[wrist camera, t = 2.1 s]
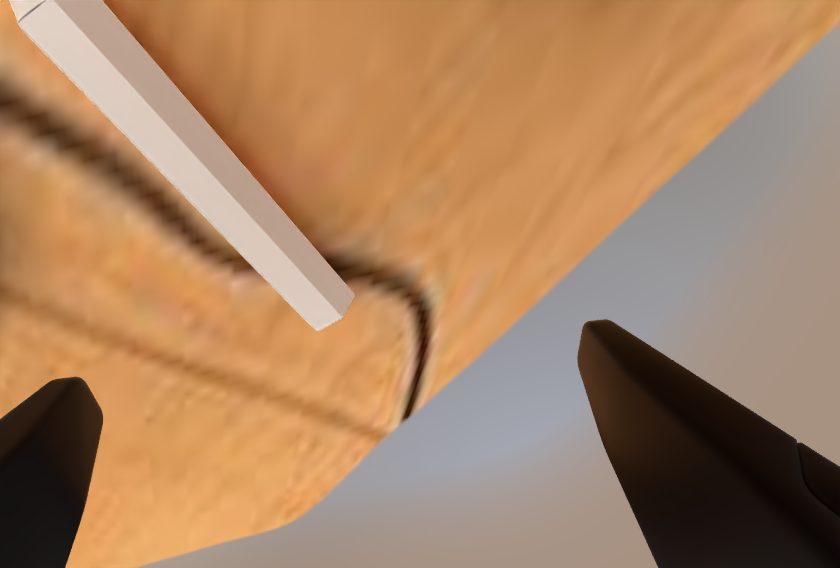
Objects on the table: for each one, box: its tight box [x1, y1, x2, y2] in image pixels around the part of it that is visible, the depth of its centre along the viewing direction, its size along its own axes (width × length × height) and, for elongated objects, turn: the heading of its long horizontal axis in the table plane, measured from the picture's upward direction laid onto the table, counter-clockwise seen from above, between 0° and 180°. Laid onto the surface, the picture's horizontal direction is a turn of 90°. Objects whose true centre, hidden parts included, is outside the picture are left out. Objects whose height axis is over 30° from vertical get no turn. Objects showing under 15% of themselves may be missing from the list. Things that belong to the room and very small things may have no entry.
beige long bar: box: [9, 0, 355, 332], centre depth 18 cm, size 3×2×16 cm
